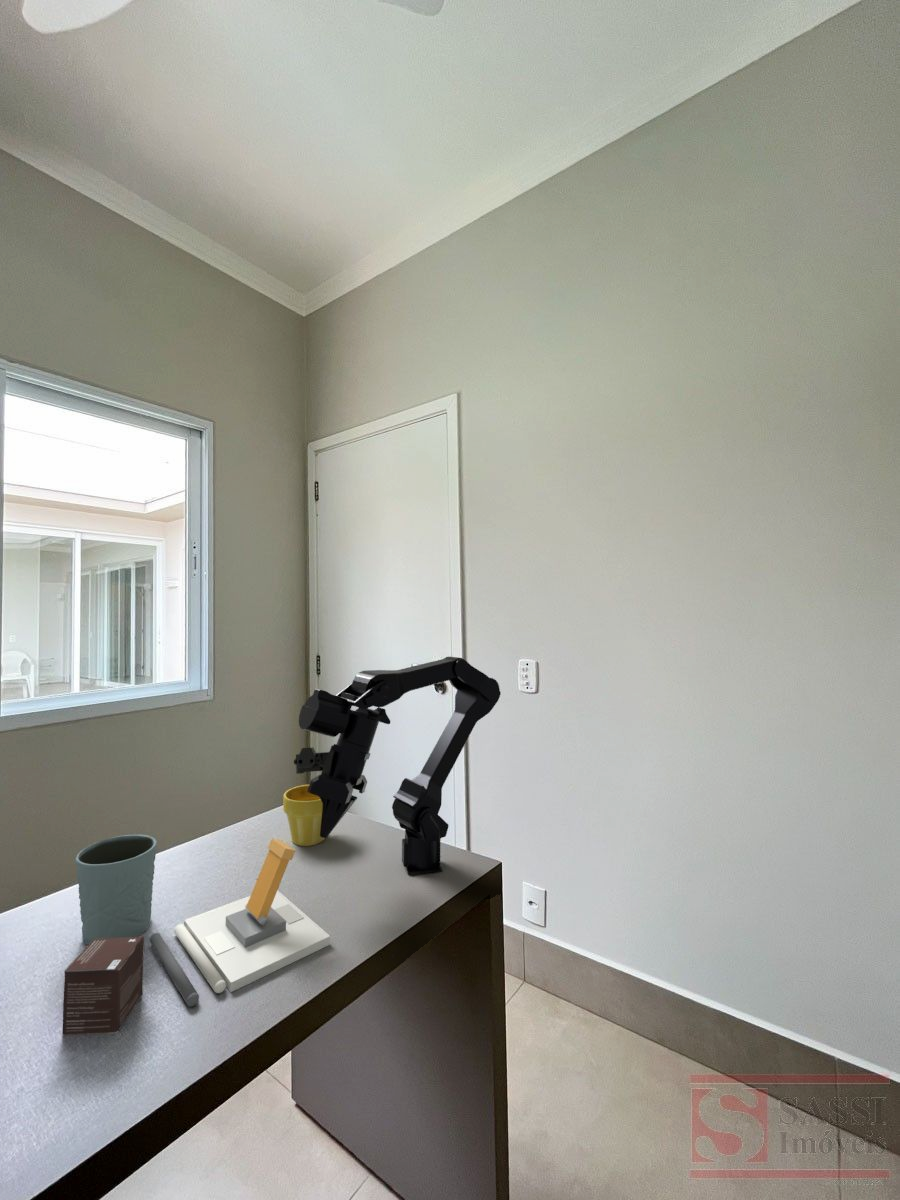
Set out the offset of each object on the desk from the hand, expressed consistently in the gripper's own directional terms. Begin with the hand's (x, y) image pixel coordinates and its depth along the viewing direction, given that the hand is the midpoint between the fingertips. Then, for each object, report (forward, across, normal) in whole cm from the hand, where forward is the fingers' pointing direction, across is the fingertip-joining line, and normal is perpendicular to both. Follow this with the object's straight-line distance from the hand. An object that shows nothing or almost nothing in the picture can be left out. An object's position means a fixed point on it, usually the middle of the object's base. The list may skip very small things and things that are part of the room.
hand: (323, 837), depth 87 cm
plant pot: (+7, -25, -7) cm, 27 cm away
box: (+21, +22, -14) cm, 33 cm away
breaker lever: (+11, +8, -5) cm, 14 cm away
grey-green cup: (+20, +6, -24) cm, 32 cm away
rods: (+17, +13, -10) cm, 24 cm away
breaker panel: (+14, +7, -4) cm, 16 cm away
